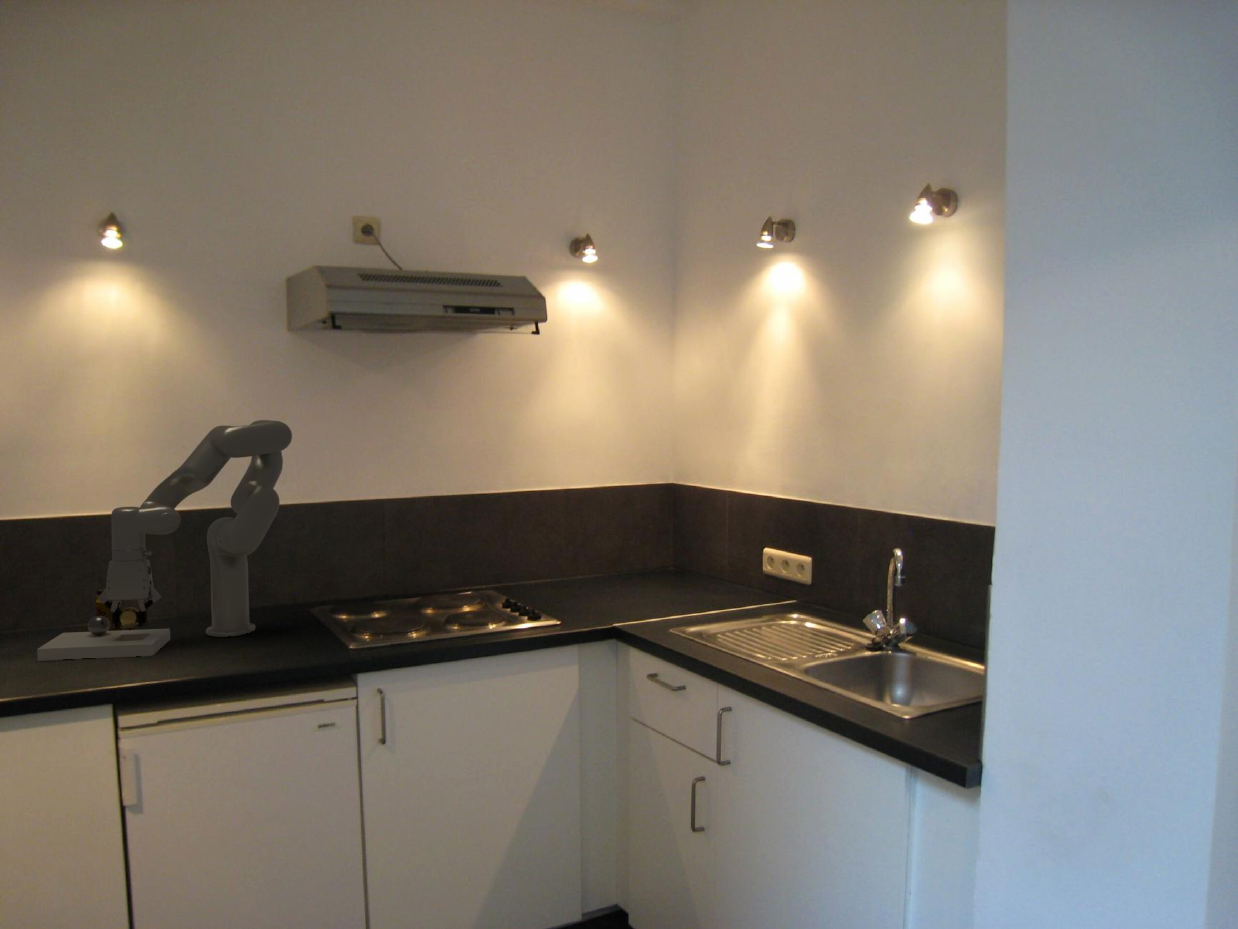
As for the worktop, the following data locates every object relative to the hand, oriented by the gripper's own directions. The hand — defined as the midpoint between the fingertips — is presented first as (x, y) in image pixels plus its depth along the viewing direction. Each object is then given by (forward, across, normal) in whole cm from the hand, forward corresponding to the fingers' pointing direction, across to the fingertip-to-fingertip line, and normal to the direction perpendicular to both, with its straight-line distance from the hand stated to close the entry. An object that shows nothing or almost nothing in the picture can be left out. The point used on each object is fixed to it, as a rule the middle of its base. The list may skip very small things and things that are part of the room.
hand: (130, 625), depth 239 cm
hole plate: (+6, +6, 0) cm, 8 cm away
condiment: (+6, +11, -20) cm, 24 cm away
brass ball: (-2, 0, 0) cm, 2 cm away
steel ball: (+1, +9, -4) cm, 10 cm away
